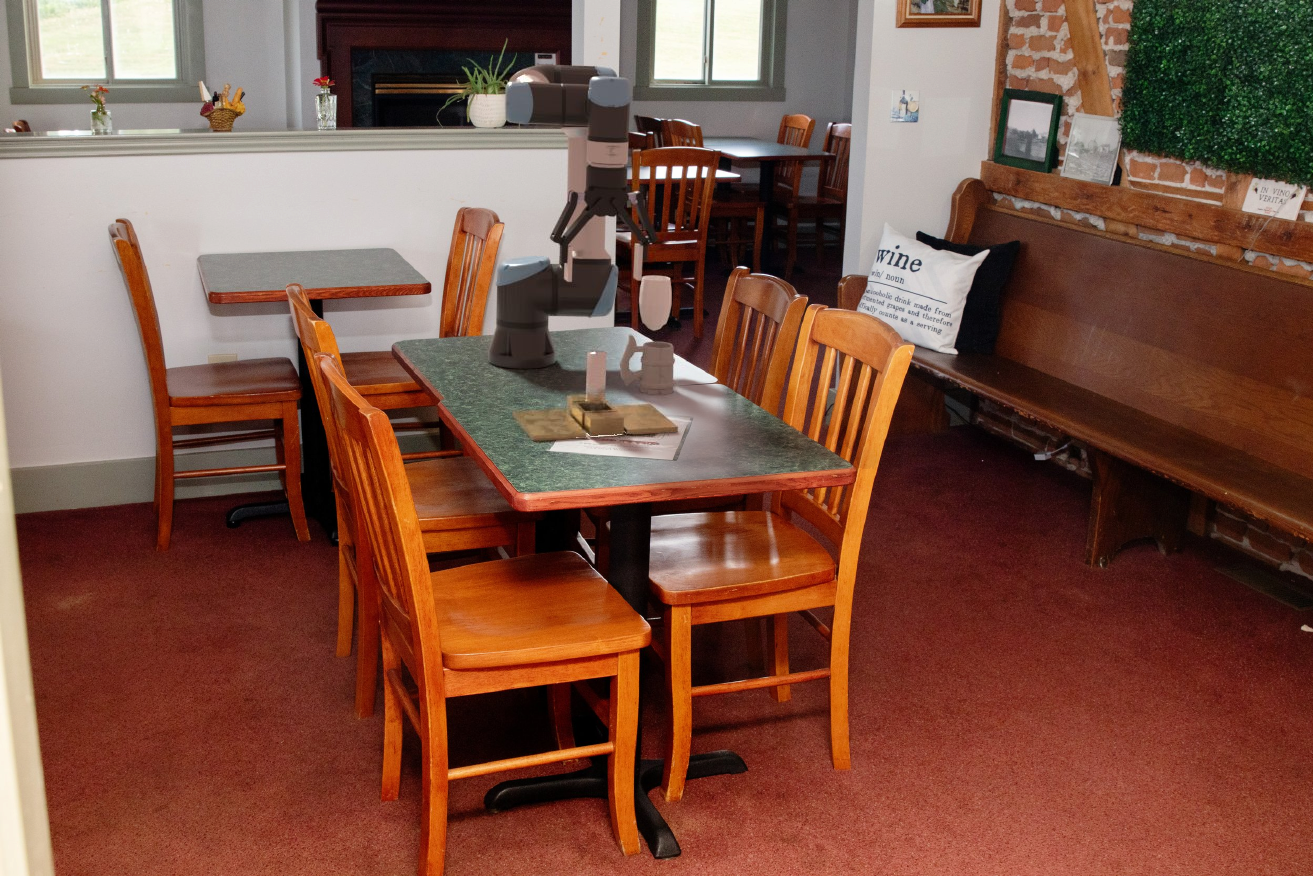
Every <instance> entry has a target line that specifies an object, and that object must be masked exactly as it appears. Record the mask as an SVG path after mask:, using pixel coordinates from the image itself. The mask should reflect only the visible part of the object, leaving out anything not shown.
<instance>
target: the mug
mask: <svg viewBox="0 0 1313 876" xmlns="http://www.w3.org/2000/svg"><path fill="white" fill-rule="evenodd" d="M674 348H675V347H674V345H673V344H672V343H670V342H665V341H647V342H645V343H643V345H638V346H637V340H636V339H635V337H634V336H633V335H632V334H629V335H628V340H627V344H626V346H625V349H624V351H623V352H624V353H623V355H622V357H621V359H620V362H619V367H620V376H621V380H622V381H624V382H623V383H624V385H625V386H626V387H627V386H630V385H631V384H632V383H633V382H634V381H636V380H638V382H637V383H638V386H639V391H640V392H642V393H644V394H647V395H655V396H656V395H657V396H659V395H663V396H664V395H669V394H672V393H673V392H674V387H675V385H676V380H675V378H674V364H675V362H676V359H675V357H674V354H675V353H674ZM635 353H642V355H641V357H640V363H641V367H640V369H639V370H636V371H633V372H632V370H631V369H630V360H631V358H633V356H634V354H635Z"/></svg>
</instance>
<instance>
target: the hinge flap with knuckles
mask: <svg viewBox="0 0 1313 876" xmlns="http://www.w3.org/2000/svg"><path fill="white" fill-rule="evenodd" d="M566 398H567V401H566V412H567V413H568V414H569V415H570V416H571V417H572V403H574V402H586V394H572V395H571V394H570V395H566ZM612 406H613V407H615V408H616V409H617V410H618V413H620V414H621V415H622V416H623V417H624V431H625V432H626V433H627V434H633V435H645V434H646V435H647V434H649V435H650V434H663V433H665V432H666V433H667V434H668V433H678V431H679V426H678V425H676V424H675V423H674V422H673V421H672V420H670V419H669V418H668V417H667V416H666V415H664V414H663V413H662V412H661V411H660V410H659V409H657V408H656V407H654V406H653V405H652V404H651V403H642V404H641V403H639V404H625V405H624V404H623V405H621V404H620V405H612ZM626 433H625V434H626ZM627 434H626V435H627Z"/></svg>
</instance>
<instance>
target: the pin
mask: <svg viewBox="0 0 1313 876" xmlns="http://www.w3.org/2000/svg"><path fill="white" fill-rule="evenodd" d="M607 355H608V354H607V352H606V351H605V350H597V349H596V350H595V349H594V350H587V353H586V378H585V379H586V384H585V395H586V408H585V411H601V410H605V401H606V382H607V381H606V380H607V375H606V374H607Z"/></svg>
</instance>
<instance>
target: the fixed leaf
mask: <svg viewBox="0 0 1313 876" xmlns="http://www.w3.org/2000/svg"><path fill="white" fill-rule="evenodd" d="M613 406H614V405H612V404H611V403H610V402H609V401H608V400H605V410H601V411H585V408H586V402H574V403H572V417H571V416H570V415H569V414H568V413H567V410H566V409H564V408H556V409H535V410H533V409H532V410H517V411H516V410H515V411H514V410H513V411H512V417H513V418H514V420H515V421H516V422H517V424H519V426H520V427H521V429H522V430H523V431H524V433H526V434H527V435H528V437H529V438H530V439H531V441H532V442H536V441H537V442H539V441H540V442H541V441H555V440H556V441H557V440H572V439H571V438H576V437H586V438H587V434H586V433H588V434H589V435H590V436H598V435H614V434H615V435H617V434H623V435H624V432H623V431H624V417H623V416H622V415H621V414H620V413H618V410H617V409H616V408H615V407H613ZM576 439H577V438H576Z"/></svg>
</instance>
